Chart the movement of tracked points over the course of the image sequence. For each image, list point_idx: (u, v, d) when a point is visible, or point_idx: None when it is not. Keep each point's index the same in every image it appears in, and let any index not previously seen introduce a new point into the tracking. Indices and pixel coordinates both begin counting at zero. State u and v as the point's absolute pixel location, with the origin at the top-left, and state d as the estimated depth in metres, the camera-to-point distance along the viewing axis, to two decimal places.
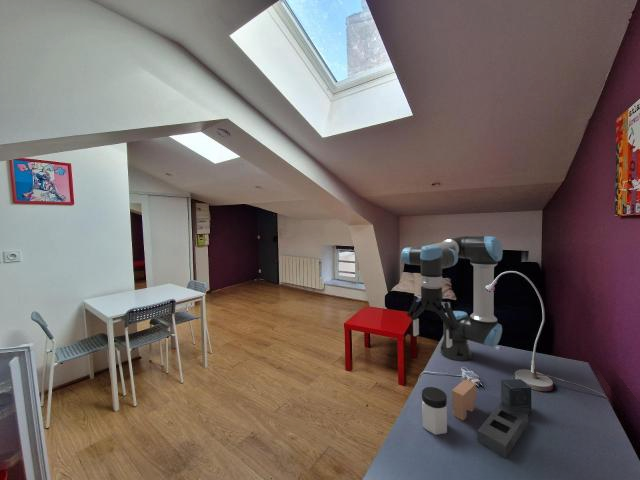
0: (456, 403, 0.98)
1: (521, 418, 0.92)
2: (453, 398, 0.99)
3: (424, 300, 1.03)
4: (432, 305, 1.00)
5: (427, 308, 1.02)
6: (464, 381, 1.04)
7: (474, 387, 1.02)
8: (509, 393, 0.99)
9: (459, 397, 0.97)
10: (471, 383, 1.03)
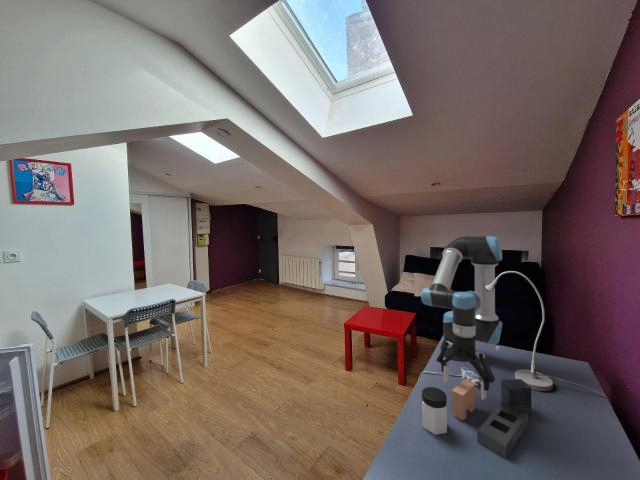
0: (456, 403, 0.98)
1: (521, 418, 0.92)
2: (453, 398, 0.99)
3: (456, 347, 1.01)
4: (465, 354, 0.98)
5: (459, 356, 1.00)
6: (464, 381, 1.04)
7: (474, 387, 1.02)
8: (509, 393, 0.99)
9: (459, 397, 0.97)
10: (471, 383, 1.03)
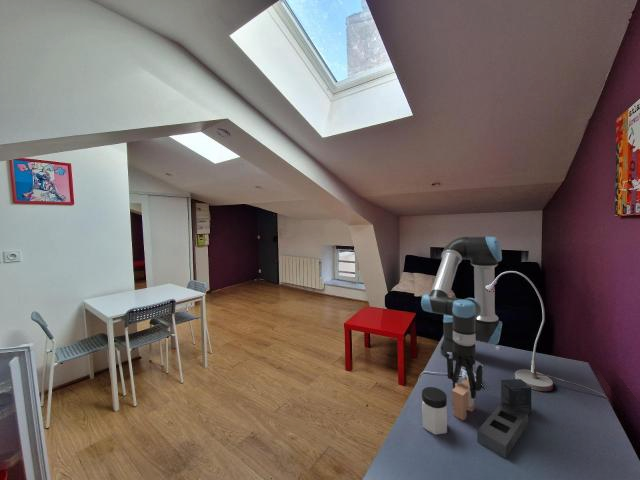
0: (456, 403, 0.98)
1: (521, 418, 0.92)
2: (453, 398, 0.99)
3: (456, 354, 1.01)
4: (465, 362, 0.98)
5: (459, 364, 1.00)
6: (464, 381, 1.04)
7: None
8: (509, 393, 0.99)
9: (459, 397, 0.97)
10: None
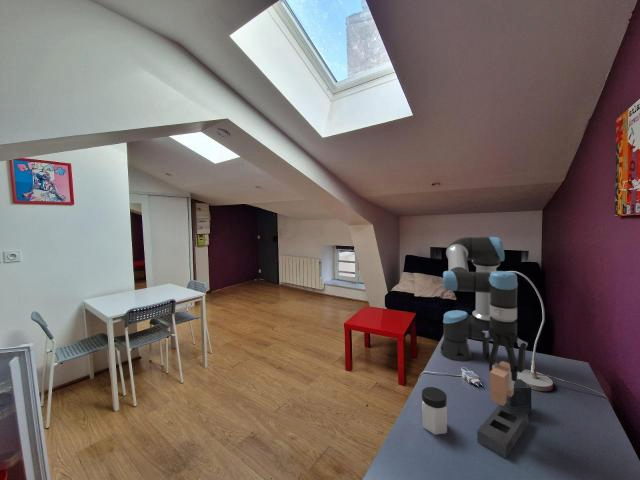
0: (495, 386, 0.87)
1: (521, 418, 0.92)
2: (491, 381, 0.88)
3: (493, 332, 0.90)
4: (505, 340, 0.87)
5: (498, 342, 0.90)
6: (501, 363, 0.93)
7: None
8: None
9: (498, 379, 0.86)
10: None
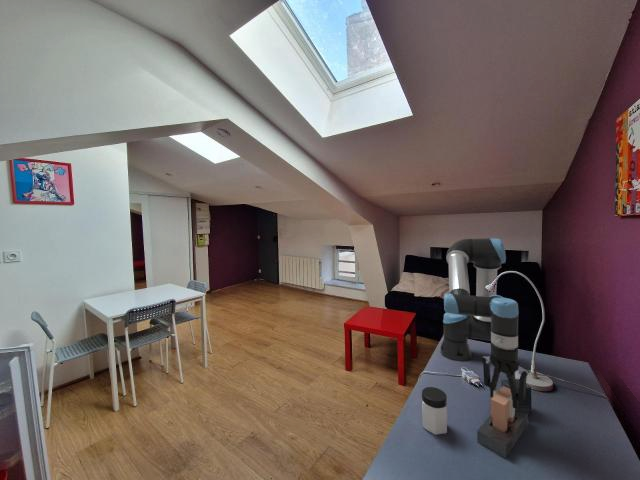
0: (497, 414, 0.87)
1: (521, 418, 0.92)
2: (492, 408, 0.88)
3: (494, 358, 0.91)
4: (506, 368, 0.87)
5: (499, 369, 0.90)
6: (502, 388, 0.94)
7: None
8: None
9: (499, 407, 0.86)
10: None
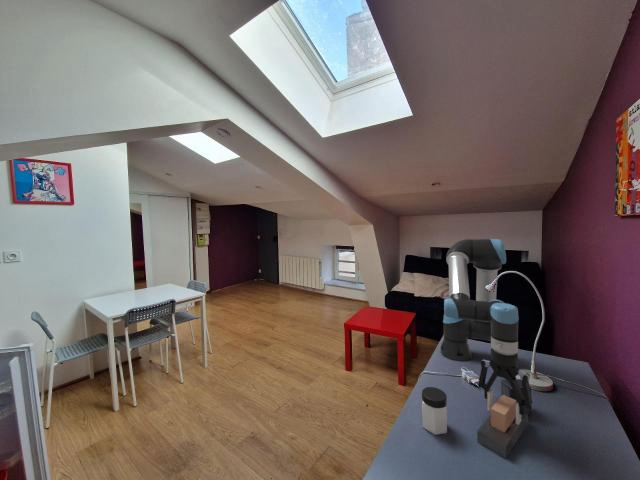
0: (497, 423, 0.88)
1: (521, 418, 0.92)
2: (492, 417, 0.89)
3: (494, 364, 0.91)
4: (506, 373, 0.88)
5: (499, 374, 0.90)
6: (502, 397, 0.94)
7: (514, 404, 0.92)
8: (509, 393, 0.99)
9: (499, 416, 0.87)
10: (511, 400, 0.93)
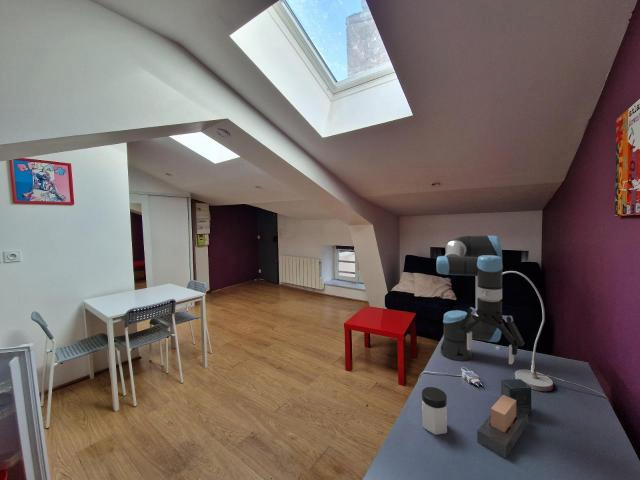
0: (497, 423, 0.88)
1: (521, 418, 0.92)
2: (492, 417, 0.89)
3: (481, 313, 0.97)
4: (492, 319, 0.94)
5: (485, 321, 0.96)
6: (502, 397, 0.94)
7: (514, 404, 0.92)
8: (509, 393, 0.99)
9: (499, 416, 0.87)
10: (511, 400, 0.93)
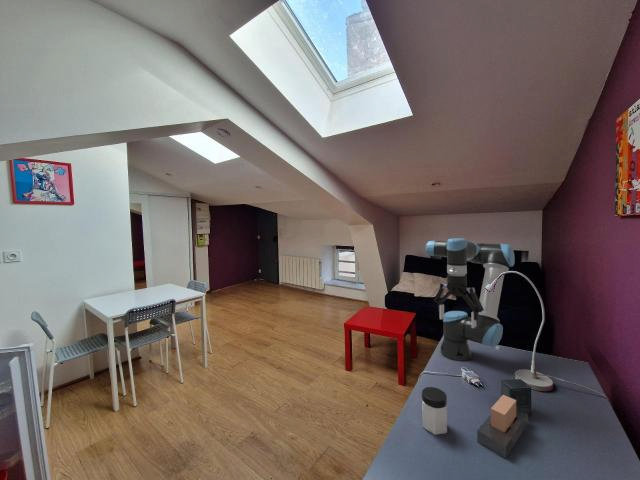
0: (497, 423, 0.88)
1: (521, 418, 0.92)
2: (492, 417, 0.89)
3: (450, 287, 1.16)
4: (458, 291, 1.12)
5: (453, 294, 1.15)
6: (502, 397, 0.94)
7: (514, 404, 0.92)
8: (509, 393, 0.99)
9: (499, 416, 0.87)
10: (511, 400, 0.93)
